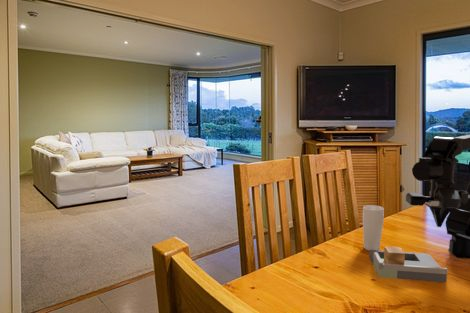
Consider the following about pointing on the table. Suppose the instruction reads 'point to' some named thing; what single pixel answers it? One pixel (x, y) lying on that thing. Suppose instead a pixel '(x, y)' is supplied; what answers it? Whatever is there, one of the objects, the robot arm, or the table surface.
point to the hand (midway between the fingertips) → (438, 226)
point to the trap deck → (409, 267)
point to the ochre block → (394, 255)
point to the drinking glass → (372, 226)
